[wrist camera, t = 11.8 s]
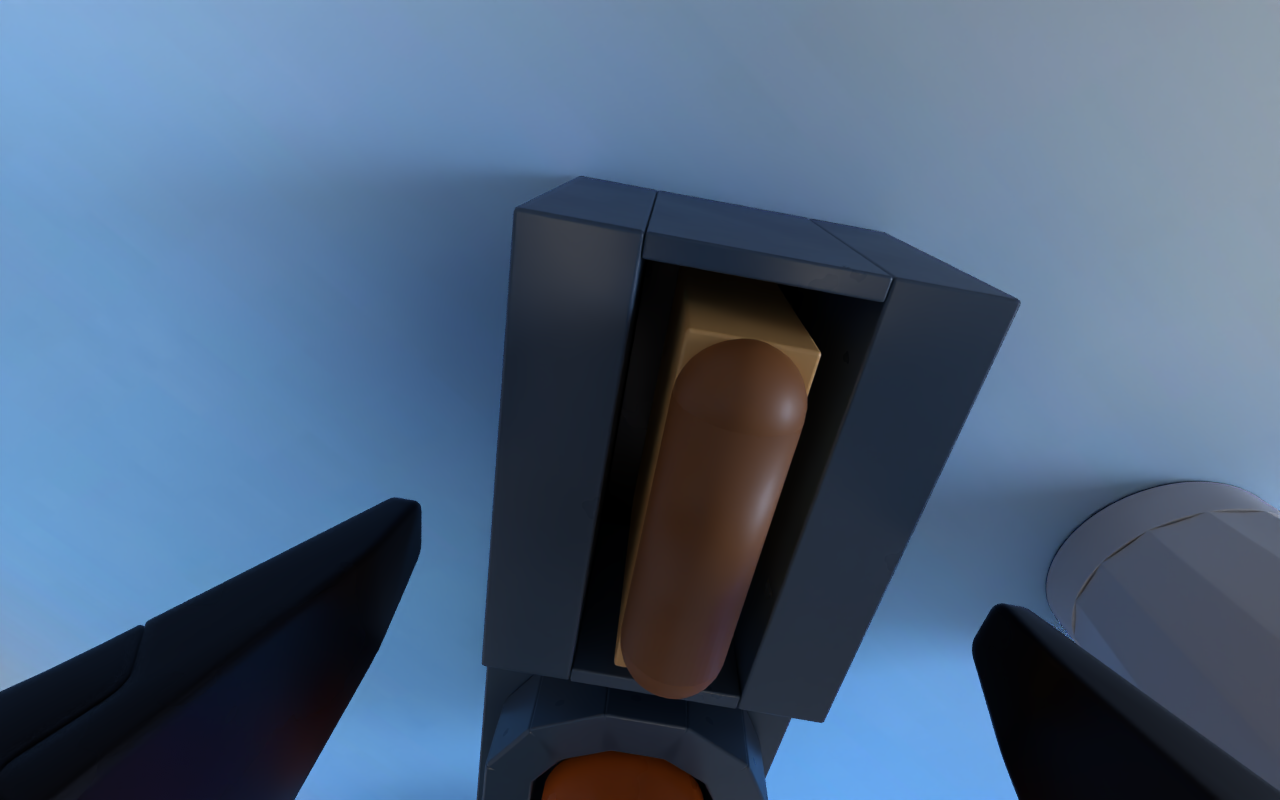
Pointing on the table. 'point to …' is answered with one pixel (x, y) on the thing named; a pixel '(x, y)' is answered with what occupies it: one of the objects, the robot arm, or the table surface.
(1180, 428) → the table surface
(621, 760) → the button
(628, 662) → the tan slab
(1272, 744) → the cup
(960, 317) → the toaster
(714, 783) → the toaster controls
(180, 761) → the robot arm
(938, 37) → the table surface
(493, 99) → the table surface
